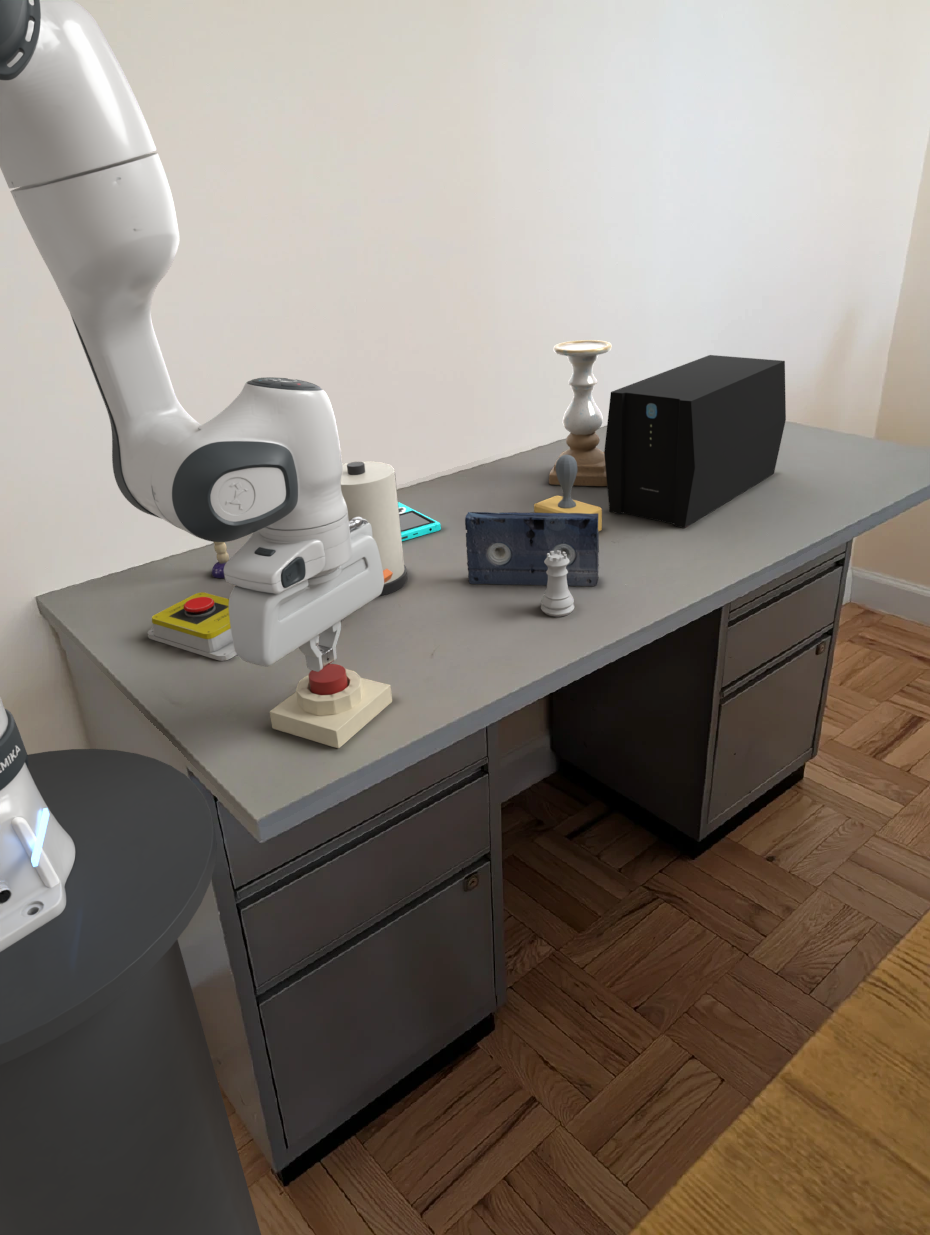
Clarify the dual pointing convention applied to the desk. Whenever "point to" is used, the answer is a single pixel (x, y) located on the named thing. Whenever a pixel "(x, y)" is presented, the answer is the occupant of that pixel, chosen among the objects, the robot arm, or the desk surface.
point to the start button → (328, 680)
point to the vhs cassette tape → (530, 547)
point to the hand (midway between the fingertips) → (322, 664)
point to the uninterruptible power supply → (694, 437)
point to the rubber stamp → (567, 493)
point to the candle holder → (583, 413)
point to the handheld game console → (415, 523)
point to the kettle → (377, 513)
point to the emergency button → (196, 626)
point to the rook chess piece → (557, 586)
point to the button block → (331, 710)
